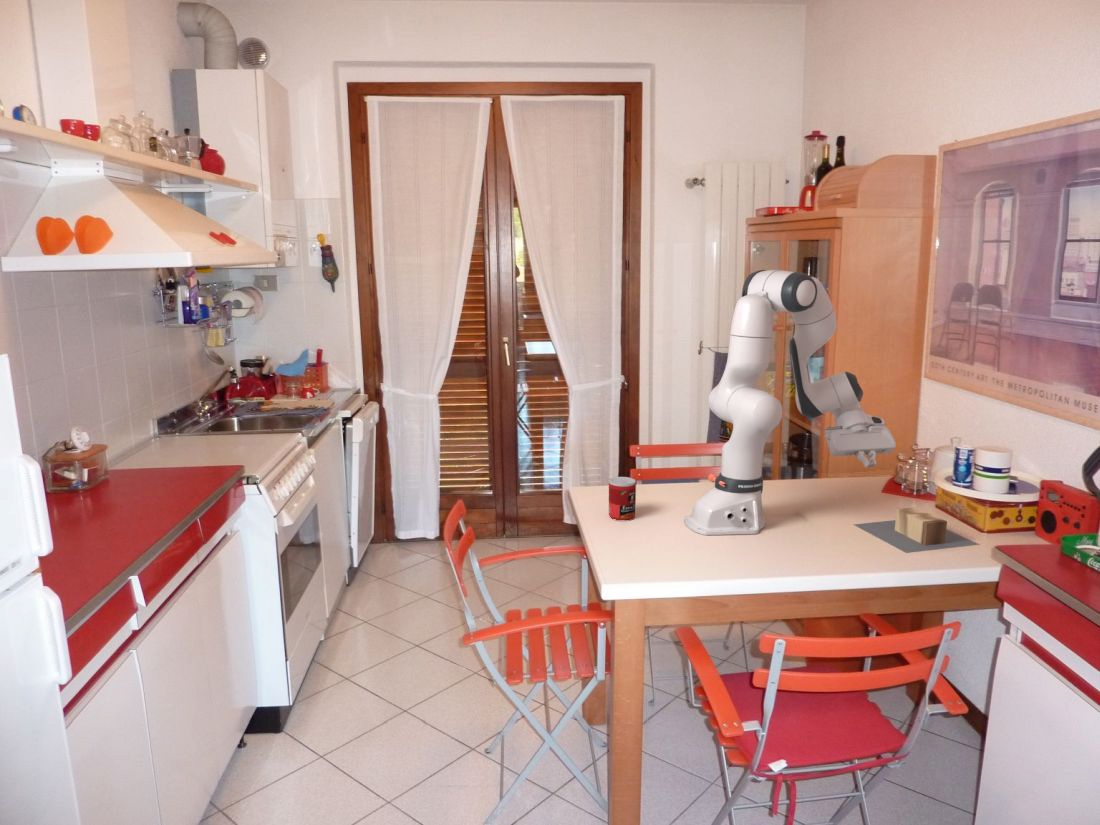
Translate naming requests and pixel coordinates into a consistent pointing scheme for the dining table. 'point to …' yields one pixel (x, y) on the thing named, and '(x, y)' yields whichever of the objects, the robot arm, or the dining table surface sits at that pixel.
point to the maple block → (920, 526)
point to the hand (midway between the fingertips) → (871, 466)
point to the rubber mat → (906, 544)
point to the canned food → (622, 498)
